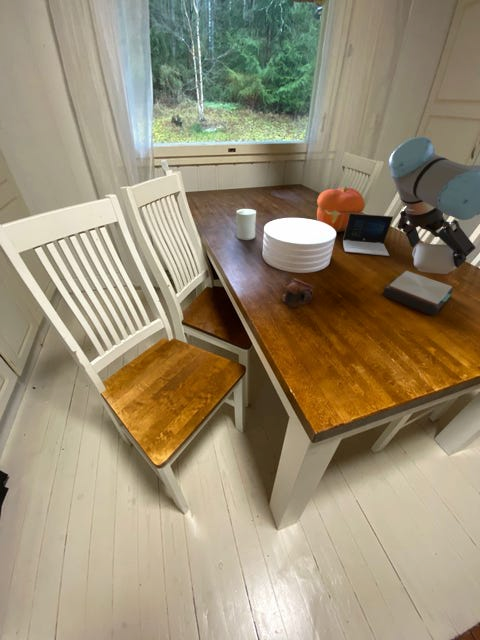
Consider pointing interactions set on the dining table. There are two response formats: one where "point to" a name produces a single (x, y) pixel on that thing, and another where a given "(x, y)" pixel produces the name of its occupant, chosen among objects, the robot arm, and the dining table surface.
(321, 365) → the dining table surface
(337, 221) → the pumpkin
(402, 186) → the robot arm
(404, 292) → the scale
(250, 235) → the can
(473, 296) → the dining table surface
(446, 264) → the teacup
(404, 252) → the dining table surface
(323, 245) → the plate stack
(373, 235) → the laptop
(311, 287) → the pottery mug
